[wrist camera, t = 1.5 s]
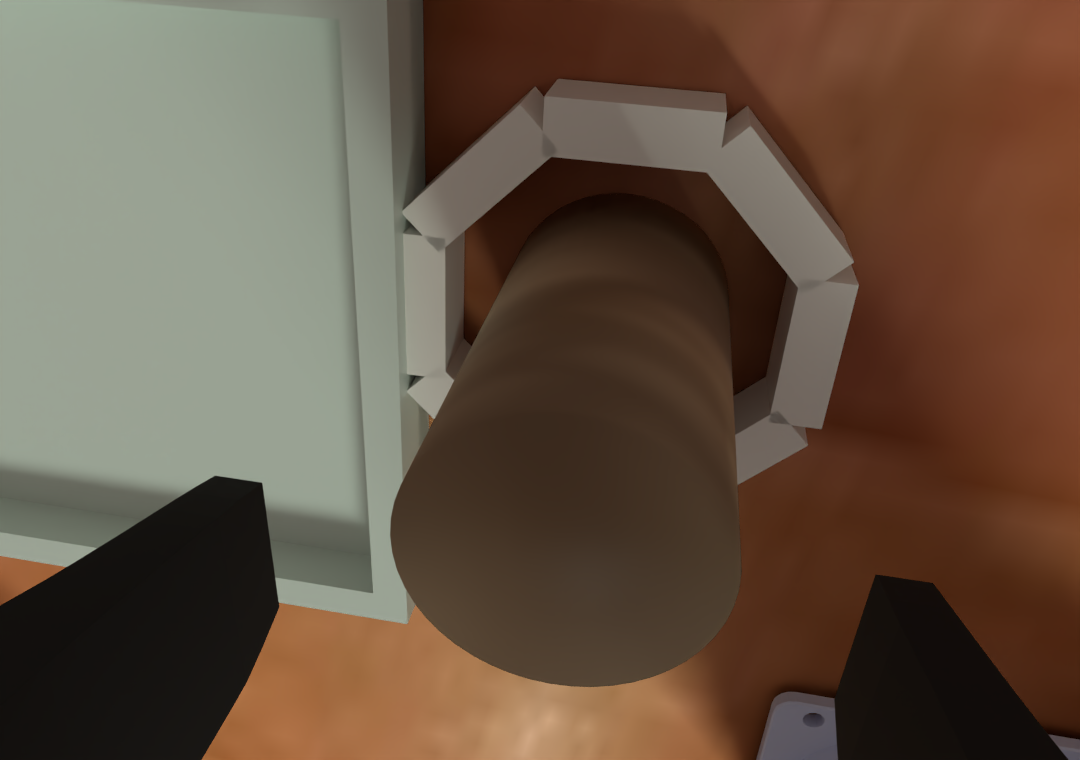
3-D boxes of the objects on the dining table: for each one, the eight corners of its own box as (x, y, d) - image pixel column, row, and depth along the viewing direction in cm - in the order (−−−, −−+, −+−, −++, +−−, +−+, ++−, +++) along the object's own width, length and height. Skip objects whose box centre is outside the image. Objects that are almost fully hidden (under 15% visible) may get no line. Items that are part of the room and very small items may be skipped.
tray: (422, -42, 15) (386, -32, 13) (430, 566, 22) (407, 623, 20) (-282, -94, 17) (-395, -92, 15) (-66, 487, 24) (-126, 534, 22)
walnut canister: (745, 206, 16) (773, 440, 9) (710, 405, 19) (711, 711, 12) (515, 182, 17) (383, 387, 10) (508, 378, 19) (395, 657, 12)
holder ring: (882, 107, 15) (899, 128, 14) (788, 494, 19) (793, 538, 18) (413, 65, 16) (387, 82, 15) (420, 442, 20) (401, 480, 19)
